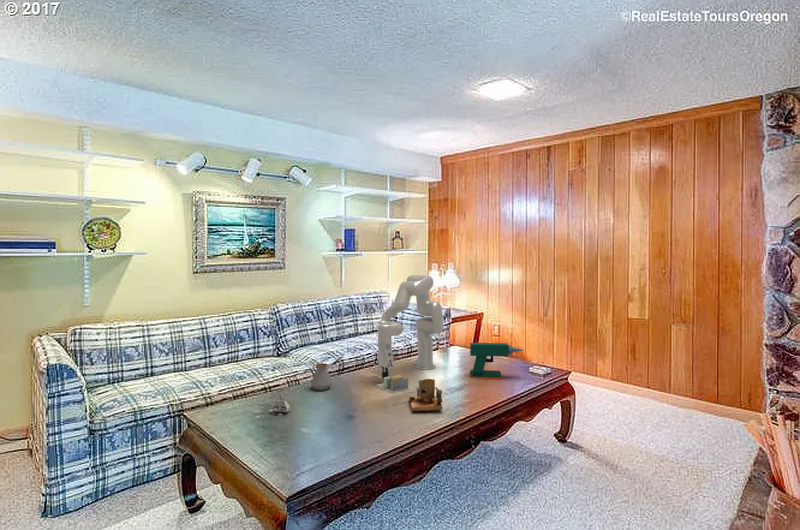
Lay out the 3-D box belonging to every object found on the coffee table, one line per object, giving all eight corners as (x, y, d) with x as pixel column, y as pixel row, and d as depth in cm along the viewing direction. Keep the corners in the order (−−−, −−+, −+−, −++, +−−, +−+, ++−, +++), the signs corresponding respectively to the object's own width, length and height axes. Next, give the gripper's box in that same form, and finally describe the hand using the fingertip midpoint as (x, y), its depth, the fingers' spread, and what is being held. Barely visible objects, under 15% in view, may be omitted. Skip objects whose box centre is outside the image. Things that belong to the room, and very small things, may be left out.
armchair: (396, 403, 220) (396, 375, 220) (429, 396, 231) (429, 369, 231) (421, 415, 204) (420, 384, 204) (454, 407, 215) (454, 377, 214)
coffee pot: (319, 392, 238) (319, 364, 238) (306, 388, 245) (306, 360, 245) (350, 384, 254) (350, 357, 253) (337, 380, 261) (336, 354, 261)
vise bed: (376, 386, 250) (376, 375, 249) (392, 382, 256) (392, 372, 256) (392, 393, 236) (392, 382, 236) (409, 389, 243) (409, 378, 243)
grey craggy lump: (263, 413, 207) (263, 396, 207) (274, 407, 215) (274, 391, 215) (281, 415, 204) (281, 398, 204) (291, 409, 213) (291, 393, 212)
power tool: (523, 377, 268) (523, 343, 267) (525, 380, 261) (525, 345, 260) (469, 375, 271) (469, 342, 270) (469, 378, 264) (469, 344, 263)
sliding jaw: (383, 386, 244) (383, 377, 244) (398, 383, 250) (398, 374, 250) (386, 388, 242) (386, 378, 242) (401, 385, 248) (401, 375, 248)
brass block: (389, 387, 243) (389, 376, 243) (399, 385, 247) (398, 375, 247) (394, 389, 240) (394, 378, 240) (403, 387, 243) (403, 376, 243)
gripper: (397, 347, 249) (398, 380, 249) (383, 343, 261) (383, 374, 261) (386, 349, 244) (387, 383, 245) (372, 344, 256) (372, 376, 257)
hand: (385, 378), depth 253 cm, fingers closed
